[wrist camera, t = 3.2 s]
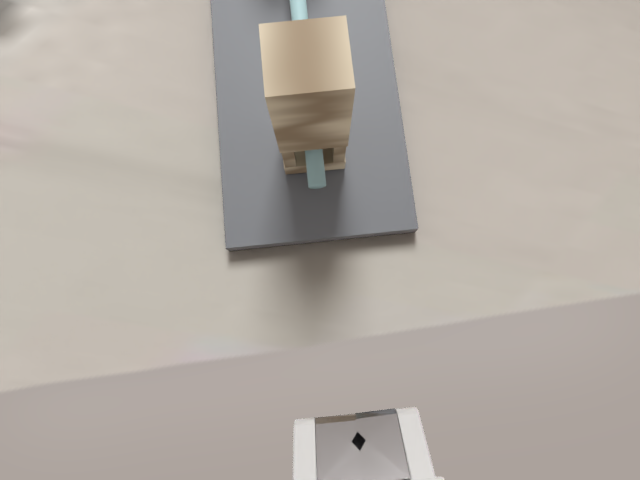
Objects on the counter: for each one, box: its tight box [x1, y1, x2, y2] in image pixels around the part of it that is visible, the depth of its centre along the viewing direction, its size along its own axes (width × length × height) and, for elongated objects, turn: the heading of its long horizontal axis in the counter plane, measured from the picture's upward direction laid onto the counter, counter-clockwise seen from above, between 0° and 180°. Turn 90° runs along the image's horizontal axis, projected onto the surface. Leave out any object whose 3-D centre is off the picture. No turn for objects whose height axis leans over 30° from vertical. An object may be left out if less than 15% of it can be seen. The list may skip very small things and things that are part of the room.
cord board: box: [211, 0, 418, 251], centre depth 31 cm, size 14×30×8 cm, turn 6°
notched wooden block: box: [259, 15, 355, 174], centre depth 26 cm, size 4×4×11 cm
